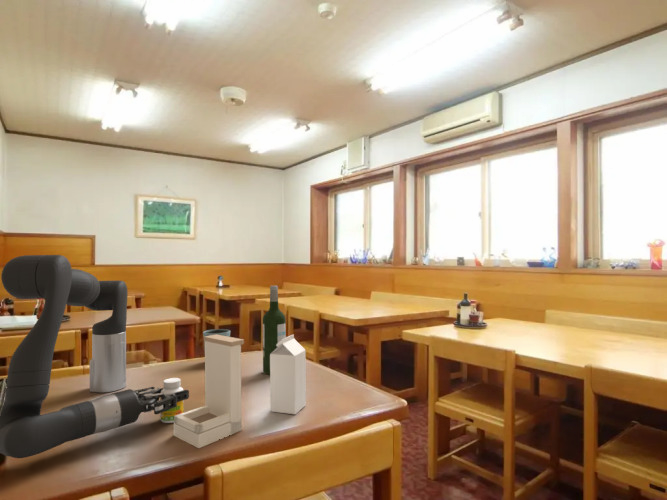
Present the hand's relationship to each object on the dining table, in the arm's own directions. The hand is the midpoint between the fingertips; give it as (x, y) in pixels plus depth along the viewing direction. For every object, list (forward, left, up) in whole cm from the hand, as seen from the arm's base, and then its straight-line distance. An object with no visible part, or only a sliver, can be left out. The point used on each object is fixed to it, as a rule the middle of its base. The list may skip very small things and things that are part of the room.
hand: (181, 391), depth 105 cm
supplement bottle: (-2, -2, -6) cm, 7 cm away
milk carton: (+27, -1, -7) cm, 28 cm away
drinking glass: (+4, +53, -7) cm, 54 cm away
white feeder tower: (+8, -12, -6) cm, 15 cm away
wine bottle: (+25, +35, -6) cm, 44 cm away
